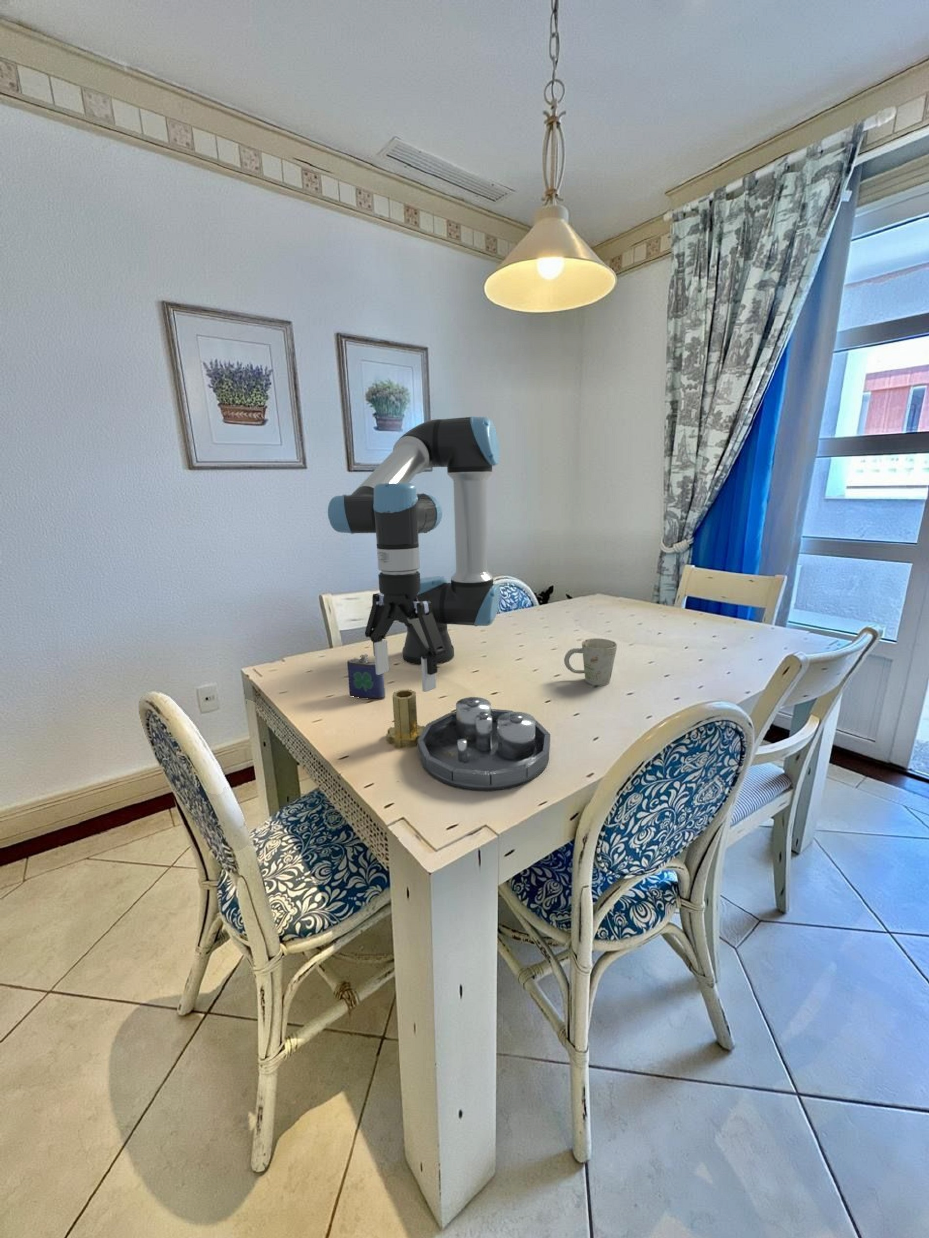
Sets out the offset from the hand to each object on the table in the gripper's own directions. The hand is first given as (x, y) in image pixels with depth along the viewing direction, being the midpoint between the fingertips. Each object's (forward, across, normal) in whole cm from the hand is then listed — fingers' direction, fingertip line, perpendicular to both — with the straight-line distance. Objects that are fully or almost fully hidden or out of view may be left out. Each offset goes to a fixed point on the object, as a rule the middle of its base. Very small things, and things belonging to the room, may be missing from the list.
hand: (404, 680), depth 94 cm
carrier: (+12, +15, +6) cm, 20 cm away
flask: (+12, -23, +8) cm, 27 cm away
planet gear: (+12, -1, 0) cm, 12 cm away
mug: (+12, +13, +50) cm, 53 cm away
